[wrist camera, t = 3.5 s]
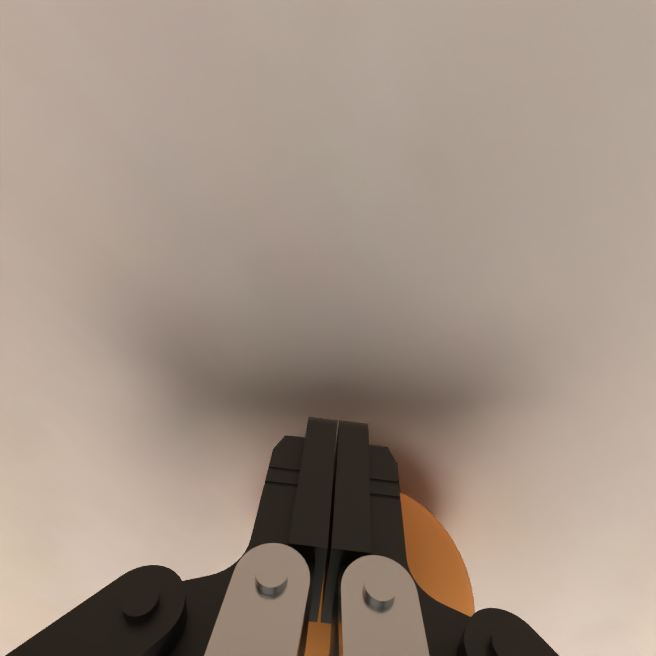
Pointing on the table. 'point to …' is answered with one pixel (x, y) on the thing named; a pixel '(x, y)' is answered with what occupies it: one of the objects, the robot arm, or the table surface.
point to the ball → (417, 570)
